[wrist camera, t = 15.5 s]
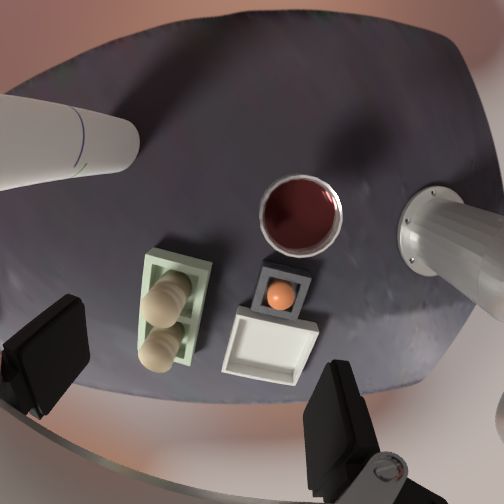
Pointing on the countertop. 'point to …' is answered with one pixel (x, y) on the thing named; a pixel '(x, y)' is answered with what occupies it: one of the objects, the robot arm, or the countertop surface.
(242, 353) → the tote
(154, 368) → the cylinder
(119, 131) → the cylindrical container
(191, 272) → the pale green flat tray
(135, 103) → the countertop surface
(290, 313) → the button housing
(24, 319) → the countertop surface
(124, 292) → the countertop surface
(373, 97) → the countertop surface
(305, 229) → the wineglass
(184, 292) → the cylinder
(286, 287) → the button
